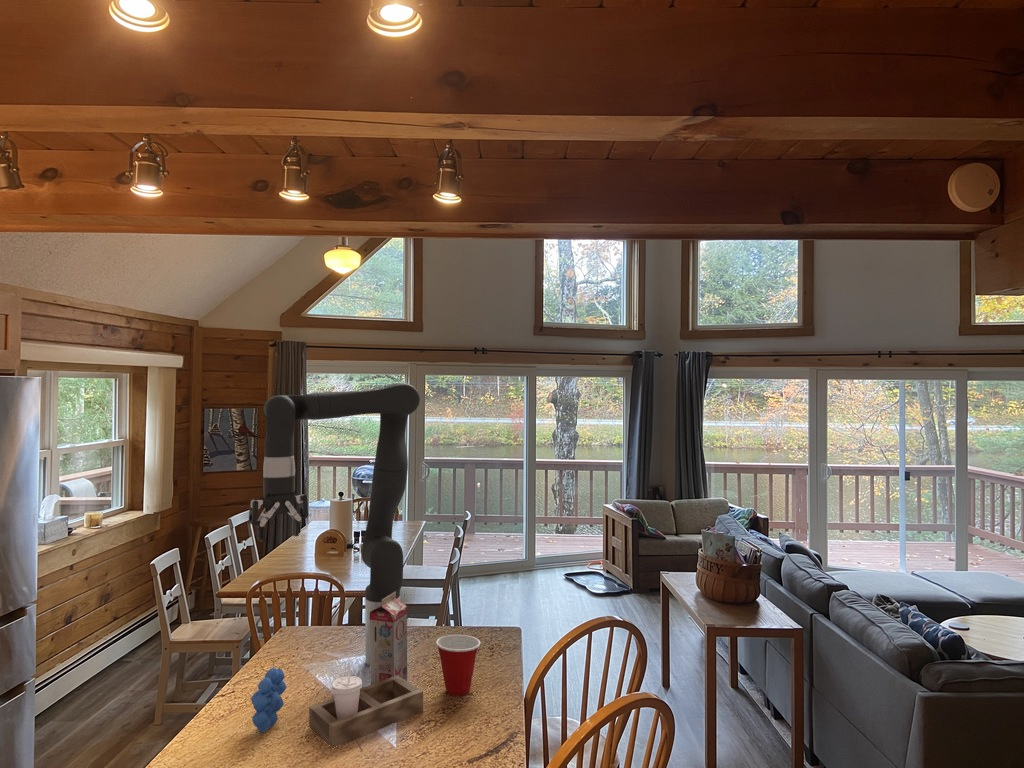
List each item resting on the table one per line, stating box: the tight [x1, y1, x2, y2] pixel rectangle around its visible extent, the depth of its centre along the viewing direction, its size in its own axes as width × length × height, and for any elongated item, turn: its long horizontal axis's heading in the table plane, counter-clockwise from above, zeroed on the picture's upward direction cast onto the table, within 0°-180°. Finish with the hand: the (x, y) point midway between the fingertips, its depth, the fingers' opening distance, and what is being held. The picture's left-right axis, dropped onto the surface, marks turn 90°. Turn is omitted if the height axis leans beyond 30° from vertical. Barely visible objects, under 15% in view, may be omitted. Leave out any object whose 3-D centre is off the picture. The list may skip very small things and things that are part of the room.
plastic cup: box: [435, 634, 482, 697], centre depth 151 cm, size 11×11×12 cm
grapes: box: [250, 667, 287, 734], centre depth 135 cm, size 12×7×12 cm, turn 173°
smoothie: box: [331, 661, 363, 720], centre depth 134 cm, size 6×6×14 cm
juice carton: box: [369, 592, 408, 685], centre depth 154 cm, size 7×7×22 cm
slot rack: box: [308, 675, 424, 749], centre depth 138 cm, size 22×11×4 cm, turn 132°
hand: (279, 538), depth 157 cm, fingers open, 8 cm apart
